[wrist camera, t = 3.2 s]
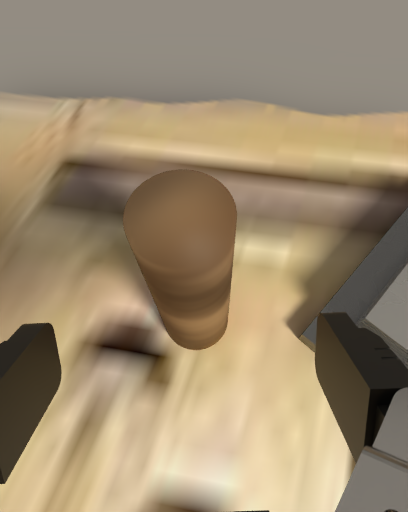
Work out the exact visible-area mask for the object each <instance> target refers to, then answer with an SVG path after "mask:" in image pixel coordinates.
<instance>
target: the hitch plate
mask: <svg viewBox="0 0 408 512" xmlns="http://www.w3.org/2000/svg"><path fill="white" fill-rule="evenodd" d="M332 312H346V313H347V314H348V315H349V317H350V318H351V319H352V321H353V322H354V323H355V325H356V326H357V327H358V328H367V329H368V330H370V331H372V332H373V333H375V334H377V335H378V336H380V337H381V338H382V339H383V340H384V341H385V343H386V344H387V345H388V346H389V347H390V350H392V351H393V352H394V353H395V354H396V356H397V358H398V359H400V360H401V362H402V363H403V364H404V365H405V366H406V367H407V369H408V208H407V209H406V210H405V211H404V212H403V214H402V215H401V216H400V217H399V218H398V220H397V221H396V222H395V223H394V224H393V226H392V227H391V228H390V229H389V230H388V232H387V233H386V234H385V235H384V236H383V238H382V239H381V240H380V241H379V242H378V244H377V245H376V246H375V247H374V248H373V250H372V251H371V252H370V253H369V254H368V256H367V257H366V258H365V259H364V260H363V262H362V263H361V264H360V265H359V266H358V268H357V269H356V270H355V271H354V272H353V274H352V275H351V276H350V277H349V278H348V280H347V281H346V282H345V283H344V285H343V286H342V287H341V288H340V289H339V291H338V292H337V293H336V294H335V295H334V297H333V298H332V299H331V300H330V301H329V303H328V304H327V305H326V306H325V307H324V309H323V310H322V311H321V312H320V313H332ZM317 318H318V316H317V317H316V318H315V319H314V321H313V322H312V323H311V324H310V325H309V327H308V328H307V329H306V330H305V331H304V333H303V334H302V335H301V336H300V338H299V340H301V341H302V342H303V343H304V344H305V345H307V346H308V347H309V348H310V349H311V350H313V351H314V352H315V349H316V331H317Z"/></svg>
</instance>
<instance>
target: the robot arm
mask: <svg viewBox="0 0 408 512" xmlns="http://www.w3.org/2000/svg"><path fill="white" fill-rule="evenodd" d="M315 368H316V374H317V378H318V380H319V383H320V385H321V387H322V389H323V392H324V394H325V396H326V398H327V400H328V403H329V405H330V407H331V409H332V411H333V414H334V416H335V418H336V420H337V422H338V425H339V427H340V429H341V431H342V434H343V436H344V438H345V440H346V442H347V445H348V447H349V449H350V451H351V453H352V456H353V458H354V460H355V462H356V466H355V468H354V470H353V473H352V475H351V477H350V479H349V481H348V484H347V486H346V488H345V490H344V493H343V495H342V497H341V499H340V502H339V504H338V506H337V508H336V510H335V512H408V369H407V367H406V366H405V365H404V364H403V363H402V362H401V360H400V359H398V358H397V356H396V354H395V353H394V352H393V351H392V350H390V347H389V346H388V345H387V344H386V343H385V341H384V340H383V339H382V338H381V337H380V336H378V335H377V334H375V333H373V332H372V331H370V330H368V329H367V328H358V327H357V326H356V325H355V323H354V322H353V321H352V319H351V318H350V317H349V315H348V314H347V313H346V312H332V313H319V315H318V318H317V331H316V349H315ZM60 381H61V364H60V359H59V354H58V349H57V343H56V338H55V333H54V329H53V326H52V325H51V324H50V323H35V324H23V325H22V326H21V327H20V328H19V329H18V330H17V331H16V332H15V333H14V334H13V335H12V336H11V337H10V338H9V339H8V340H7V341H4V342H2V343H1V344H0V484H5V482H6V481H7V479H8V477H9V475H10V474H11V472H12V470H13V468H14V466H15V465H16V463H17V461H18V459H19V458H20V456H21V454H22V452H23V451H24V449H25V447H26V445H27V443H28V442H29V440H30V438H31V436H32V435H33V433H34V431H35V429H36V427H37V426H38V424H39V422H40V420H41V419H42V417H43V415H44V413H45V411H46V410H47V408H48V406H49V404H50V403H51V401H52V399H53V397H54V395H55V394H56V392H57V390H58V388H59V385H60ZM236 512H269V510H268V511H236Z"/></svg>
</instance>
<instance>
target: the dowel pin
mask: <svg viewBox="0 0 408 512" xmlns="http://www.w3.org/2000/svg"><path fill="white" fill-rule="evenodd" d="M236 222H237V211H236V205H235V202H234V199H233V197H232V195H231V194H230V192H229V191H228V189H227V188H226V187H225V186H224V185H223V184H222V183H221V182H219V181H218V180H217V179H215V178H213V177H212V176H209V175H207V174H205V173H202V172H198V171H194V170H171V171H167V172H163V173H160V174H157V175H155V176H153V177H151V178H149V179H148V180H146V181H145V182H143V183H142V184H141V185H140V186H139V187H138V188H136V190H135V191H134V192H133V193H132V195H131V196H130V198H129V199H128V201H127V204H126V206H125V210H124V215H123V226H124V231H125V234H126V237H127V239H128V241H129V244H130V246H131V248H132V251H133V253H134V255H135V258H136V260H137V262H138V264H139V267H140V269H141V271H142V274H143V276H144V278H145V281H146V283H147V285H148V288H149V290H150V292H151V295H152V297H153V299H154V301H155V304H156V306H157V308H158V311H159V313H160V315H161V318H162V320H163V322H164V325H165V327H166V329H167V331H168V333H169V335H170V337H171V338H172V339H173V340H174V342H176V343H177V344H178V345H180V346H182V347H184V348H187V349H191V350H201V349H205V348H208V347H210V346H212V345H214V344H215V343H217V342H218V341H219V340H220V339H221V337H222V336H223V334H224V333H225V330H226V327H227V323H228V312H229V301H230V290H231V278H232V267H233V256H234V244H235V233H236Z"/></svg>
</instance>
